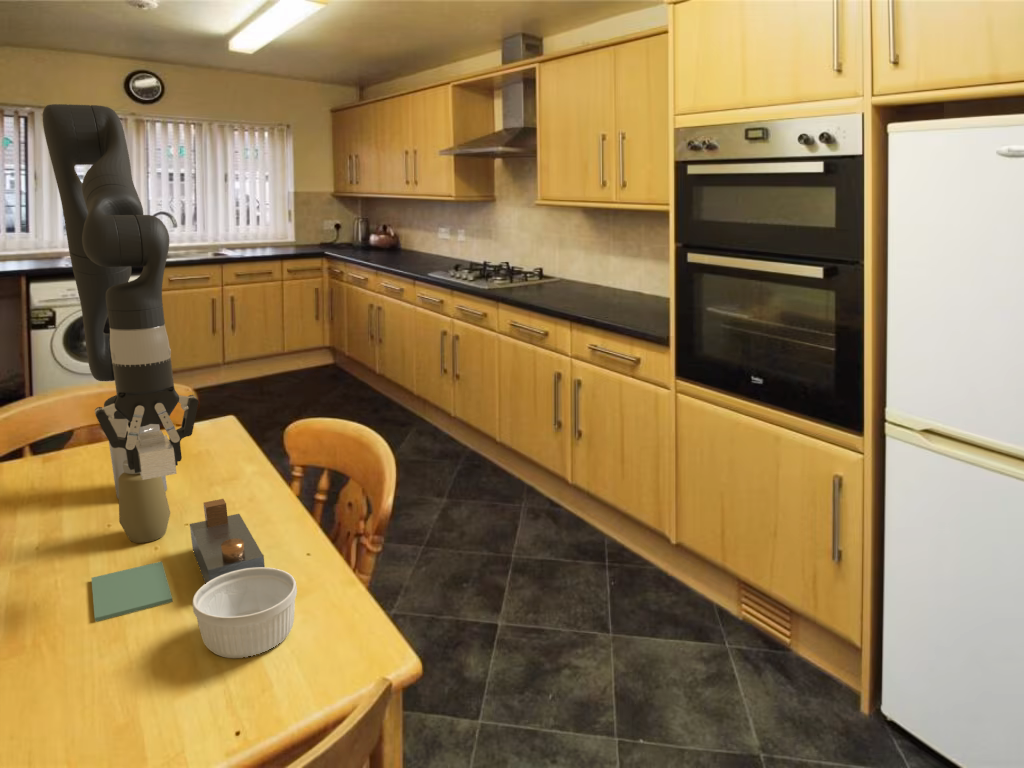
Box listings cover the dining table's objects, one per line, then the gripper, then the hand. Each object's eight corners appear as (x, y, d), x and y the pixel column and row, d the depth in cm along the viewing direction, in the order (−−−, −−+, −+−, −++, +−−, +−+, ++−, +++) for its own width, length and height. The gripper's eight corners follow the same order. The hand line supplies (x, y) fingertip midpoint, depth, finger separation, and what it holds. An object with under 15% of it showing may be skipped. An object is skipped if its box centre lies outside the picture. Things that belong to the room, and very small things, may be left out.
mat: (91, 581, 109) (91, 577, 109) (162, 564, 115) (161, 561, 114) (95, 621, 99) (94, 618, 99) (172, 601, 104) (172, 598, 104)
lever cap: (136, 465, 106) (132, 433, 105) (169, 459, 109) (165, 429, 108) (142, 479, 101) (138, 447, 100) (176, 473, 103) (172, 441, 102)
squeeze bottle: (159, 522, 130) (148, 430, 125) (181, 534, 125) (169, 439, 120) (114, 537, 124) (100, 441, 119) (134, 551, 119) (120, 452, 114)
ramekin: (266, 598, 105) (262, 556, 103) (319, 631, 97) (316, 586, 95) (179, 639, 95) (173, 593, 93) (230, 679, 87) (225, 630, 85)
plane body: (192, 550, 119) (187, 504, 117) (241, 539, 123) (237, 494, 121) (211, 600, 104) (205, 547, 102) (266, 585, 109) (261, 535, 106)
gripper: (190, 347, 107) (201, 451, 112) (82, 357, 100) (99, 469, 104) (199, 356, 101) (211, 466, 106) (85, 367, 94) (103, 486, 98)
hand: (155, 467), depth 105 cm, fingers closed on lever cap, 4 cm apart
